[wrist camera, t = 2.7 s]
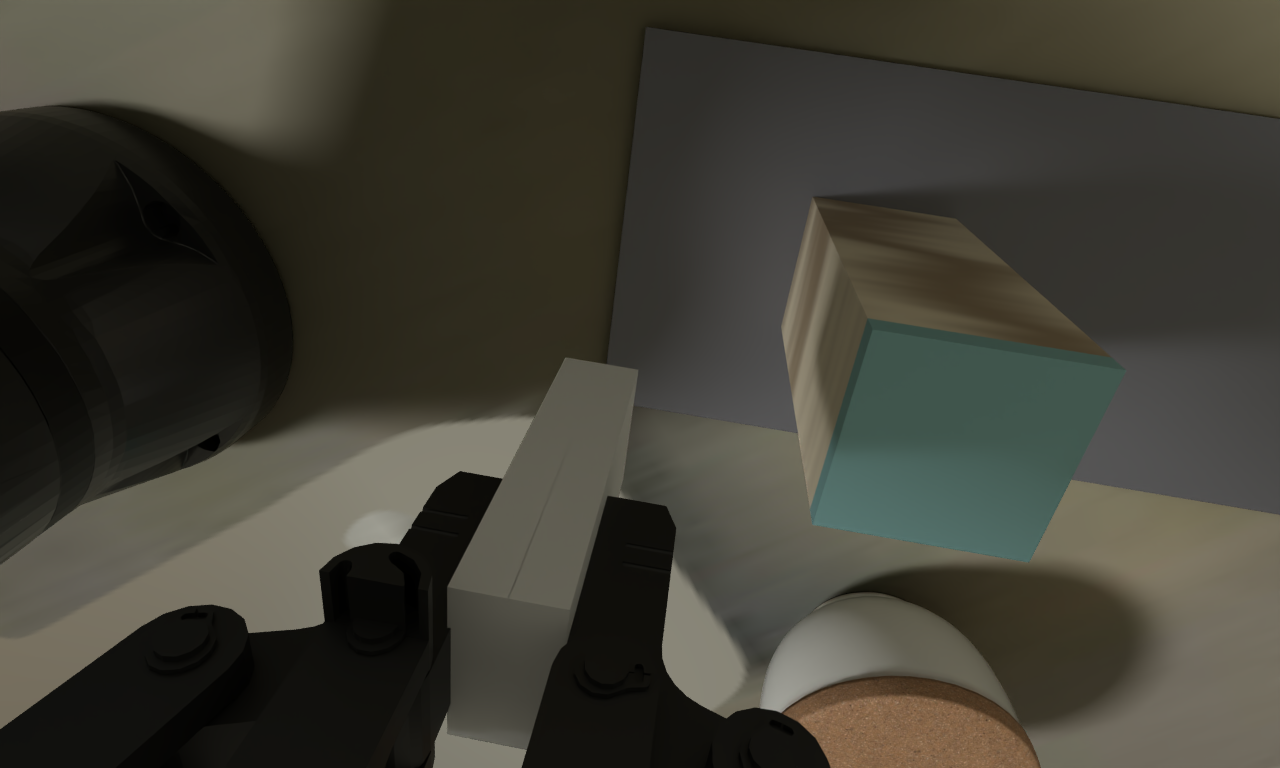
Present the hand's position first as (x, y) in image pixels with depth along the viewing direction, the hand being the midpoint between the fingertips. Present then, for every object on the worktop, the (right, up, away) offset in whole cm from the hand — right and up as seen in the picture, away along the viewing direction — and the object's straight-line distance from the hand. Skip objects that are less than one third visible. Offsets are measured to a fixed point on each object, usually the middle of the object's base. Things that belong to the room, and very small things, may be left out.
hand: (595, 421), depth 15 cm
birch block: (+9, +5, +11) cm, 15 cm away
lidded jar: (+12, -12, +20) cm, 26 cm away
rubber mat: (+14, +4, +11) cm, 18 cm away
